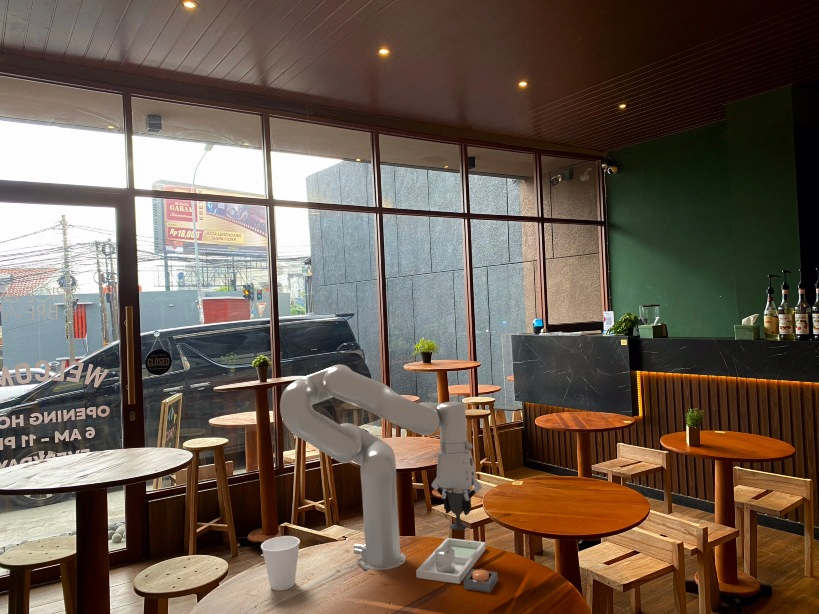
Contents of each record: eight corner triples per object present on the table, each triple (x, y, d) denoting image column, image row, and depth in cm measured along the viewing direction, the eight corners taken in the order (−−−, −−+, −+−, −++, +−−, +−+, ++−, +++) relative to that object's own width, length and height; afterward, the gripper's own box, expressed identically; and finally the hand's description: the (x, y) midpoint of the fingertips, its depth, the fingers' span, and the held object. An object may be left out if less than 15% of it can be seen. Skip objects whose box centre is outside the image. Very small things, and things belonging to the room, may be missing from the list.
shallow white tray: (416, 581, 151) (416, 570, 151) (447, 547, 172) (446, 537, 172) (459, 587, 146) (459, 576, 146) (485, 552, 167) (485, 542, 167)
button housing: (464, 592, 144) (463, 580, 144) (472, 580, 150) (472, 569, 150) (490, 596, 141) (489, 584, 141) (498, 584, 147) (497, 572, 147)
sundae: (469, 531, 160) (466, 476, 160) (445, 531, 161) (441, 476, 162) (472, 522, 167) (468, 469, 167) (448, 522, 168) (445, 469, 168)
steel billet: (433, 573, 153) (432, 554, 153) (440, 565, 157) (439, 546, 157) (451, 576, 151) (450, 556, 151) (458, 568, 155) (457, 549, 155)
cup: (288, 573, 160) (286, 533, 160) (309, 584, 152) (307, 541, 153) (255, 587, 153) (253, 544, 153) (276, 599, 146) (274, 554, 146)
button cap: (470, 585, 144) (470, 575, 144) (475, 578, 148) (475, 568, 148) (486, 587, 143) (485, 577, 143) (491, 580, 146) (490, 570, 146)
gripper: (487, 445, 164) (491, 510, 164) (430, 442, 171) (434, 506, 171) (479, 451, 157) (483, 520, 157) (420, 449, 164) (424, 514, 164)
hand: (457, 512), depth 164 cm, fingers closed on sundae, 4 cm apart
